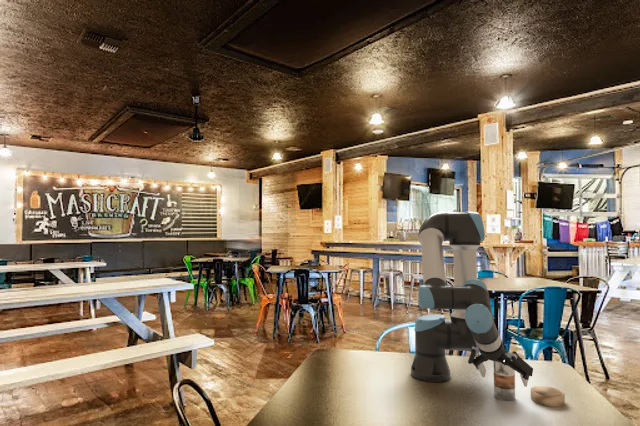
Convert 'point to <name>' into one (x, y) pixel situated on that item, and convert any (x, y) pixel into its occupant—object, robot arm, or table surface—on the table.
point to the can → (504, 382)
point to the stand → (547, 396)
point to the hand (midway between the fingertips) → (504, 378)
